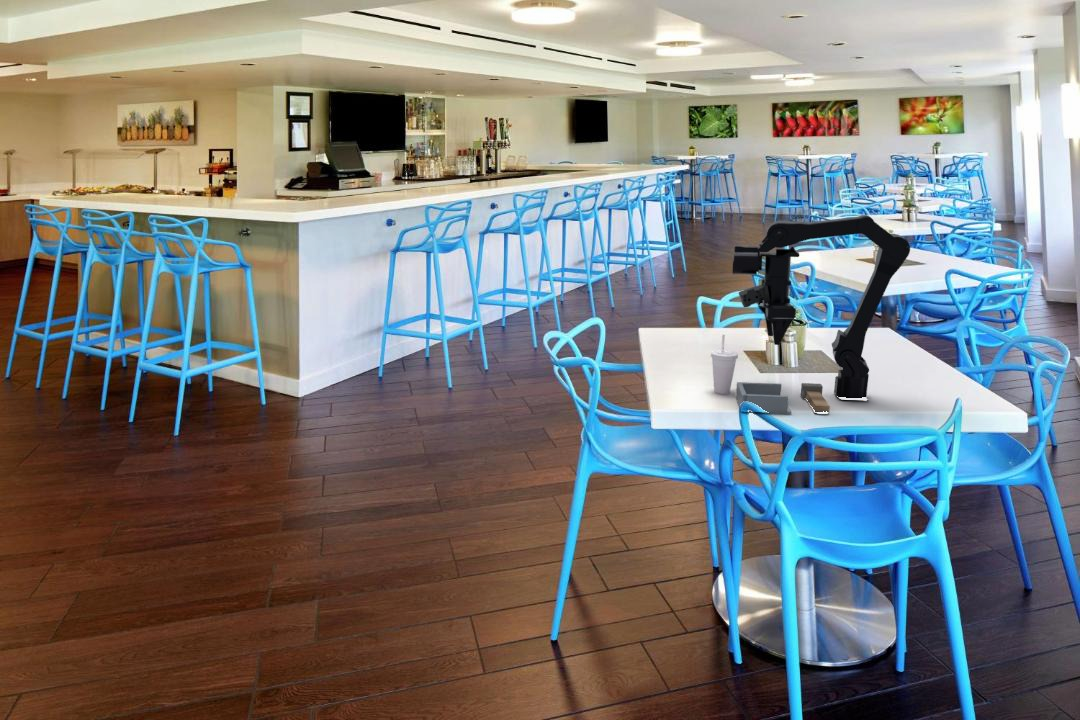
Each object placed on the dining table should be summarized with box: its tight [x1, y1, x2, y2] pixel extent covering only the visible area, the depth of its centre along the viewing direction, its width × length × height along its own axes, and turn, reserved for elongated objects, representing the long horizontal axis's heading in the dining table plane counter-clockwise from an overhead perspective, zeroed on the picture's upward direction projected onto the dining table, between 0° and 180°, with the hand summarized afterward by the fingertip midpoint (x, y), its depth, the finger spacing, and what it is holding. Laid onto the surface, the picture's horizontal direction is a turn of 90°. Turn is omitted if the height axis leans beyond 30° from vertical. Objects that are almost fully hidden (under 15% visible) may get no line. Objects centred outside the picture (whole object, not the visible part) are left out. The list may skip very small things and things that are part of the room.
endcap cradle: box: [735, 381, 793, 415], centre depth 194 cm, size 11×10×4 cm
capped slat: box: [800, 382, 830, 413], centre depth 195 cm, size 14×4×3 cm, turn 173°
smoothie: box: [710, 334, 739, 395], centre depth 204 cm, size 6×6×14 cm
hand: (773, 340), depth 203 cm, fingers open, 9 cm apart
